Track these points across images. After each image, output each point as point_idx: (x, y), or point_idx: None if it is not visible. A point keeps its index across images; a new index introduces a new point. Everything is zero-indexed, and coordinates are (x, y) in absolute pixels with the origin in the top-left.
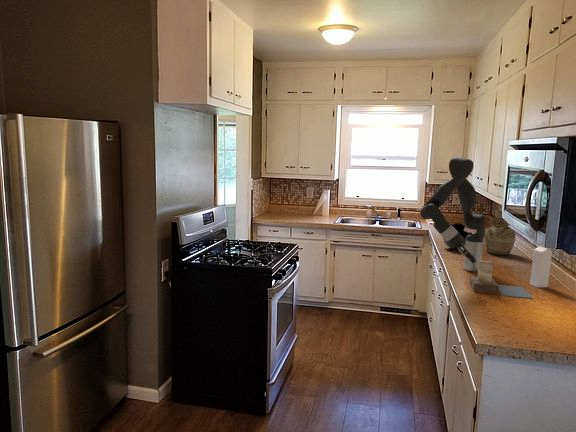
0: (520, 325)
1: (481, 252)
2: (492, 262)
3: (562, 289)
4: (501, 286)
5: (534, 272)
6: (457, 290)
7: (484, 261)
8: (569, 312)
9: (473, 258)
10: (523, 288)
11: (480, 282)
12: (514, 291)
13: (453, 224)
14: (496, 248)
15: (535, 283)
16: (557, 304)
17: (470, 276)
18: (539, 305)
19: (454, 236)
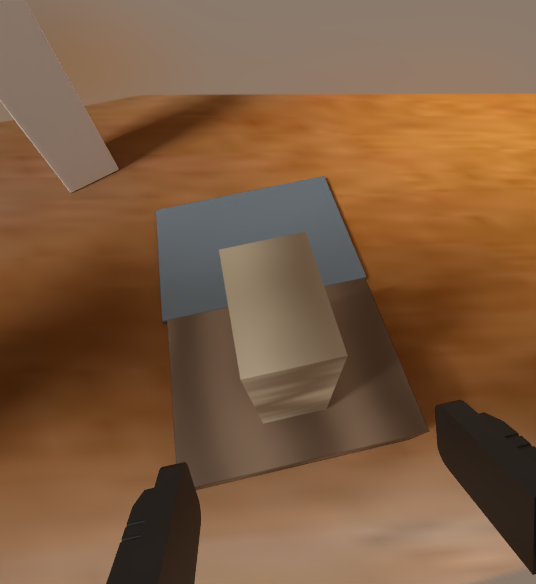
0: None
1: None
2: (272, 239)
3: (112, 112)
4: (191, 291)
5: (53, 126)
6: (473, 577)
7: (274, 313)
8: (415, 97)
9: (496, 442)
10: (177, 208)
11: (348, 391)
12: (258, 236)
13: None
14: None
15: (98, 165)
16: (339, 120)
17: (195, 486)
18: (406, 160)
19: None
